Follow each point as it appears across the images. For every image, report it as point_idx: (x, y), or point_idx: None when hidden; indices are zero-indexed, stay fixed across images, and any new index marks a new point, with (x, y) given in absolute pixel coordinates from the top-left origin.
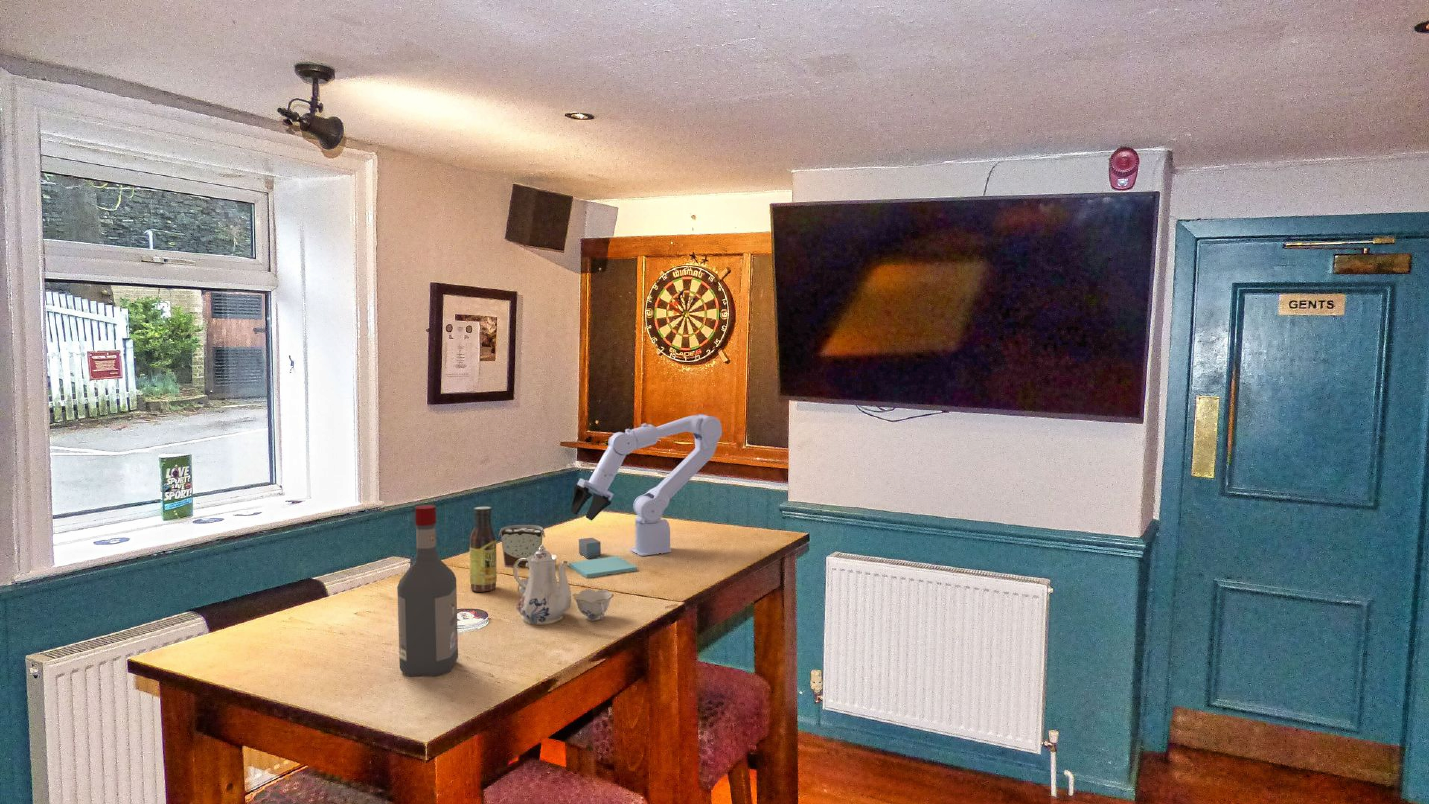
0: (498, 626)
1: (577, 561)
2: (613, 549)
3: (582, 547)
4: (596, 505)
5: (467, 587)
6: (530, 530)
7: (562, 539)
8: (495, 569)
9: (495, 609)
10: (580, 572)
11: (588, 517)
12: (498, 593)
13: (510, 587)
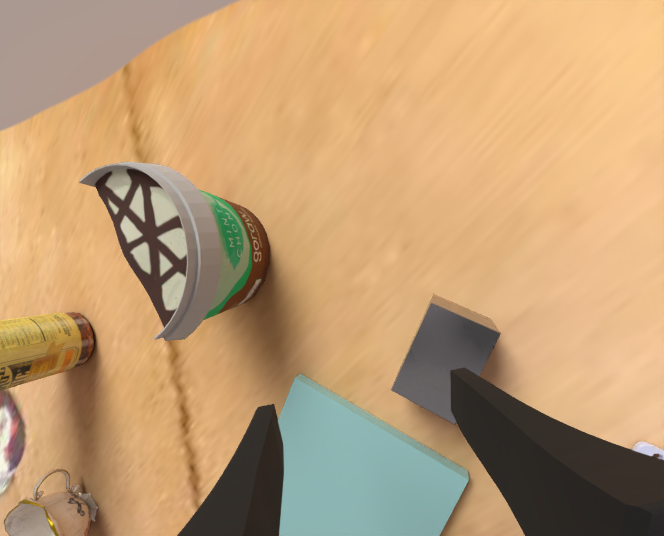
0: (4, 517)
1: (322, 394)
2: (606, 355)
3: (415, 335)
4: (528, 494)
5: (69, 297)
6: (165, 257)
7: (606, 10)
8: (34, 379)
9: (36, 454)
10: None
11: (455, 393)
12: (80, 387)
13: (112, 377)
